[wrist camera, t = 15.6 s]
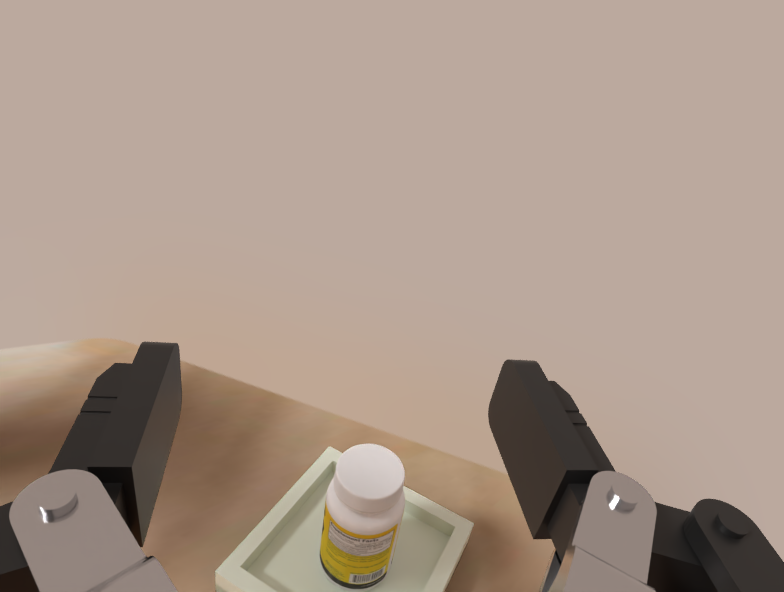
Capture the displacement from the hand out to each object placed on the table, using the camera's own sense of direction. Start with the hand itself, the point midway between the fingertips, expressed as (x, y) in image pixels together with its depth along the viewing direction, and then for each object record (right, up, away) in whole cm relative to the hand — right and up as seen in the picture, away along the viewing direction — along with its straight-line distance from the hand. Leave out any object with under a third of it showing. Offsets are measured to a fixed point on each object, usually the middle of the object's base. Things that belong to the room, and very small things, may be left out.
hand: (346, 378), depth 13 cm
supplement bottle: (-1, -15, +21) cm, 26 cm away
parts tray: (-2, -16, +22) cm, 27 cm away
